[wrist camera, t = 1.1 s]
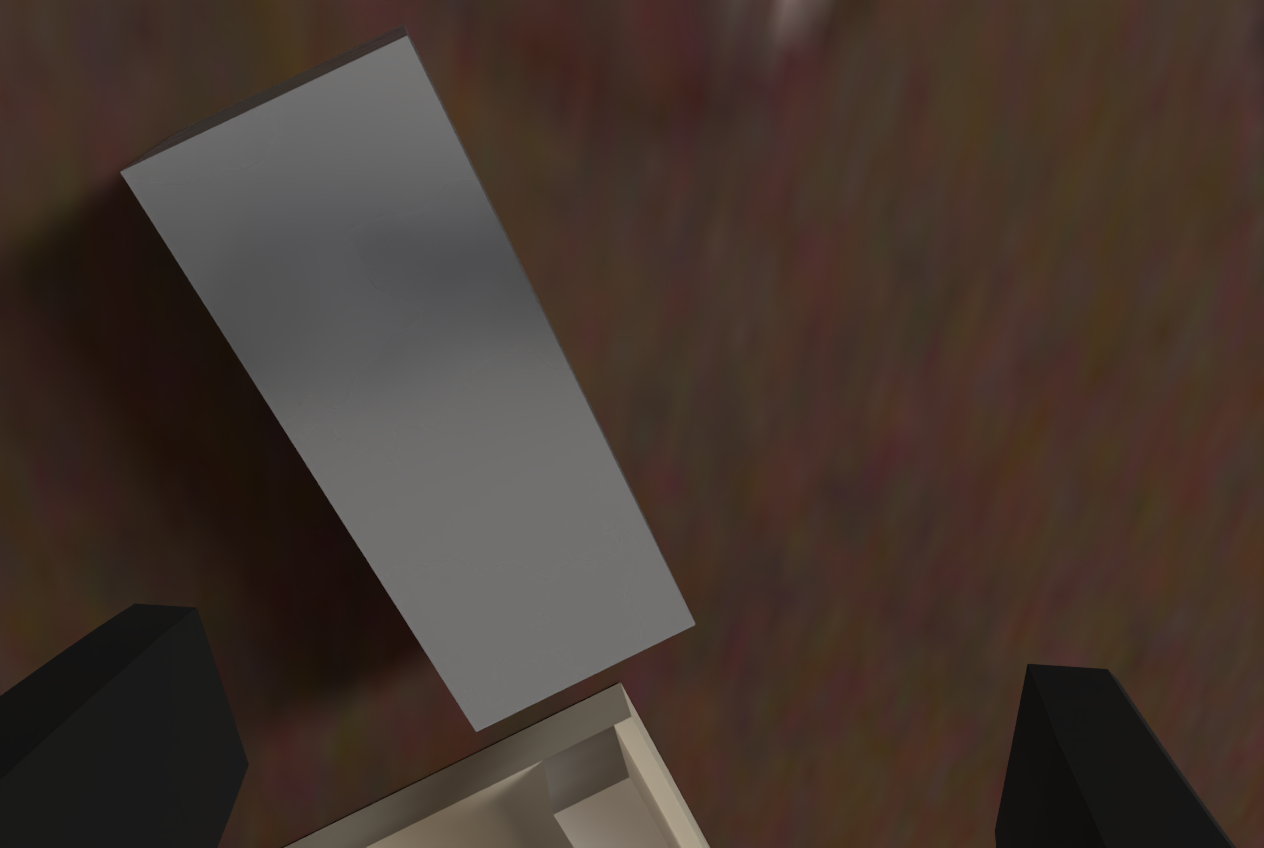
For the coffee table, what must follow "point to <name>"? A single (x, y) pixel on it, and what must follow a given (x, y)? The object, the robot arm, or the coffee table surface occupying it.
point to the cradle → (537, 792)
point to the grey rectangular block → (415, 372)
